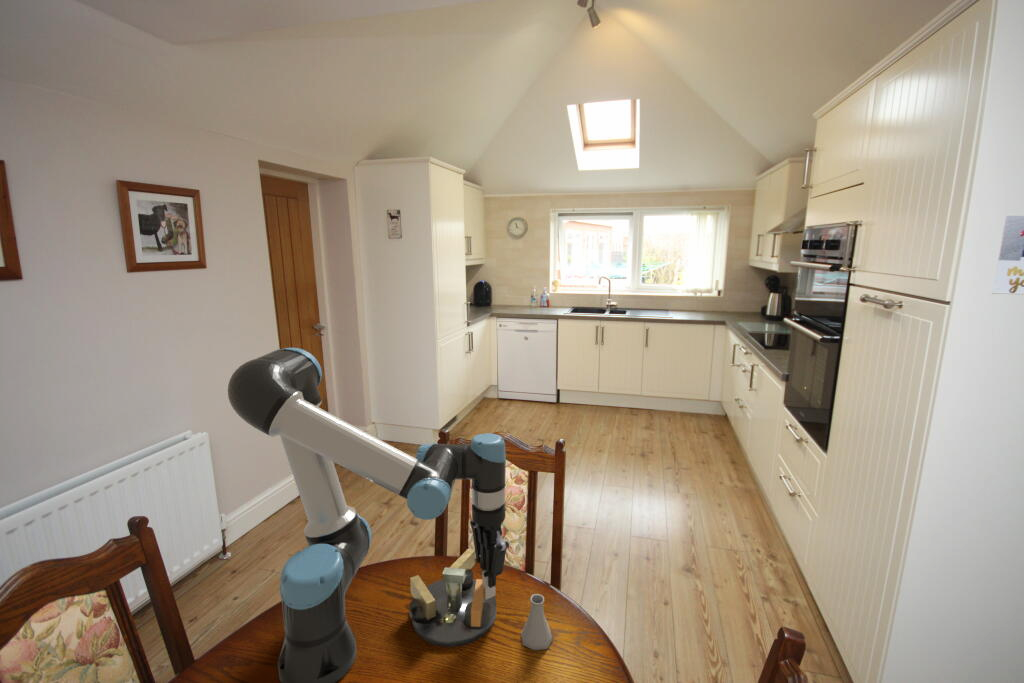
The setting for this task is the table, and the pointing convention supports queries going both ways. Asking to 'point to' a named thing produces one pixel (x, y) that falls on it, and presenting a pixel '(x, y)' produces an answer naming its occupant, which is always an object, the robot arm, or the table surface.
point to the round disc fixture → (447, 605)
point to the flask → (536, 626)
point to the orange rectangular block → (478, 609)
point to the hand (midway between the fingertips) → (489, 595)
